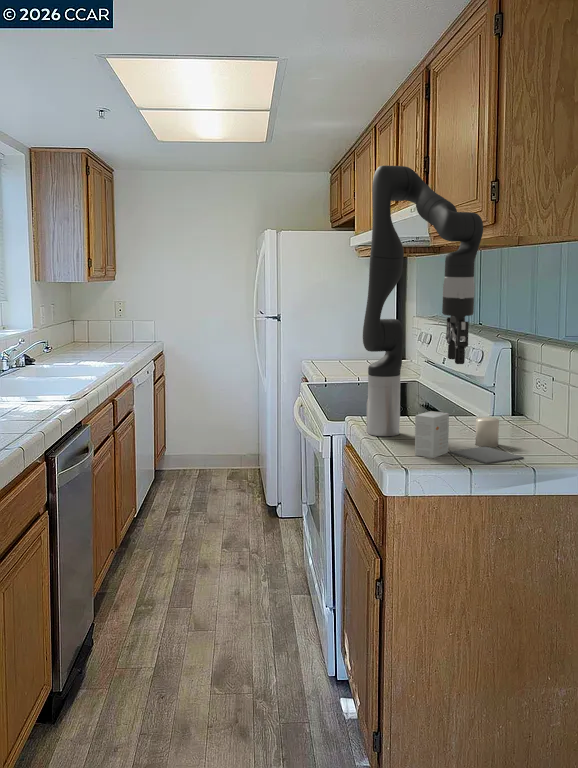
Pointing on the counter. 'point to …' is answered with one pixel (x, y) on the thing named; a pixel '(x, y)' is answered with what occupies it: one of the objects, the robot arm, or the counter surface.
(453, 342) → the robot arm
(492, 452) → the mat
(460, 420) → the counter surface
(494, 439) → the beige rounded block
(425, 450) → the small box
